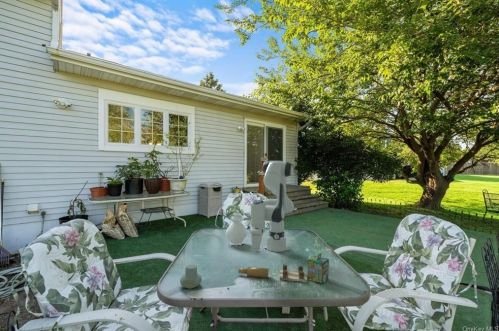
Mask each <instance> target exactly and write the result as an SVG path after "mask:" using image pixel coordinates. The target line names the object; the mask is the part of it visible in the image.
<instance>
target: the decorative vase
mask: <svg viewBox="0 0 499 331" xmlns="http://www.w3.org/2000/svg"><path fill="white" fill-rule="evenodd" d="M242 215H243V213H242V212H233V213H232V216H231V221H232V223H231V224H229V226H228V227H227V229H226V231H225V236H226V237H227V239H228V240H229V243H230V244H231V245H241V244H242V242H243V243H244V240H246V238H247V236H248V233H249V232H248V228H247V227H246V226H245V224H244V223H243V222H242V221H243V220H244V217H243V216H242ZM231 245H230V246H231Z"/></svg>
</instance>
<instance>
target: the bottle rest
mask: <svg viewBox="0 0 499 331" xmlns="http://www.w3.org/2000/svg"><path fill="white" fill-rule="evenodd" d="M281 280H287V281H286V282H293V281H302V282H301V283H305V282H307V283H308V276H307V272H306V271H304V266H303V265H298V267H297V270H288V264H284V263H283V265H282V269H279V281H281Z"/></svg>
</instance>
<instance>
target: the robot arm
mask: <svg viewBox="0 0 499 331" xmlns="http://www.w3.org/2000/svg"><path fill="white" fill-rule="evenodd" d="M261 169H262V172H263V174H264V176H263V185H264V186H265V188H266V189H268V190H269V191H271V193H272V195H274V196H276V198H267V199H262V200H261V199H257V200H256V199H255V200H252V202H251V205H250V222H249V223H250V224H249V225H250V227H249V228H250V229H249V231H250V235H251V247H252V249H253V250H254V255H255V256H258V255H259V250H260V247H261V243H262V240H263V235H264V233H265V232H266V222H269V230H268V237H266V245H265V246H264V248H263V249H265V248H266V249H265V250H268V251H270V252H275V253H282V252H285V250H286V251H289V250H290V249H289V247H288V244H287V238H286V236H285V234H286V233H285V221H284V219H285V214H288V213H292V212H293V210H294V208H295V205H294V202H293V201H292V199H290V197H288V195H287V178H288V177H290V176H291V175H292V173H293V172H294V168H293V164H292V163H291V162H289V161H282V160H265V161H264V162H263V164H262V168H261Z"/></svg>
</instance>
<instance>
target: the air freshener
mask: <svg viewBox="0 0 499 331" xmlns="http://www.w3.org/2000/svg"><path fill="white" fill-rule="evenodd" d="M202 282H203V281H202V276H201V275H200V274H199V273H198V266H197V265H196V264H189V265H186V266H185V273H184V274H182V276H181V277H180V279H179V283H180V285H181V287H183V288H186V289H189V290H190V289H193V288H196V287H198V286H200V284H201V283H202Z"/></svg>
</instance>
